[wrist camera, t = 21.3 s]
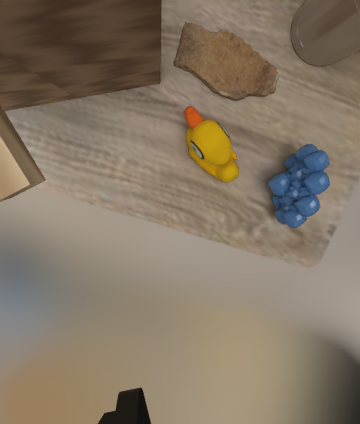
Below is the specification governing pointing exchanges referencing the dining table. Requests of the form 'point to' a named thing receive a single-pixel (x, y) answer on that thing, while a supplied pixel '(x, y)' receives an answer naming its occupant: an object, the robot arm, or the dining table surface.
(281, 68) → the dining table surface
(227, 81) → the pottery shard
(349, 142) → the dining table surface
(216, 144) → the duckling
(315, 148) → the grapes
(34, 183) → the mallet
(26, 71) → the stepped stand
